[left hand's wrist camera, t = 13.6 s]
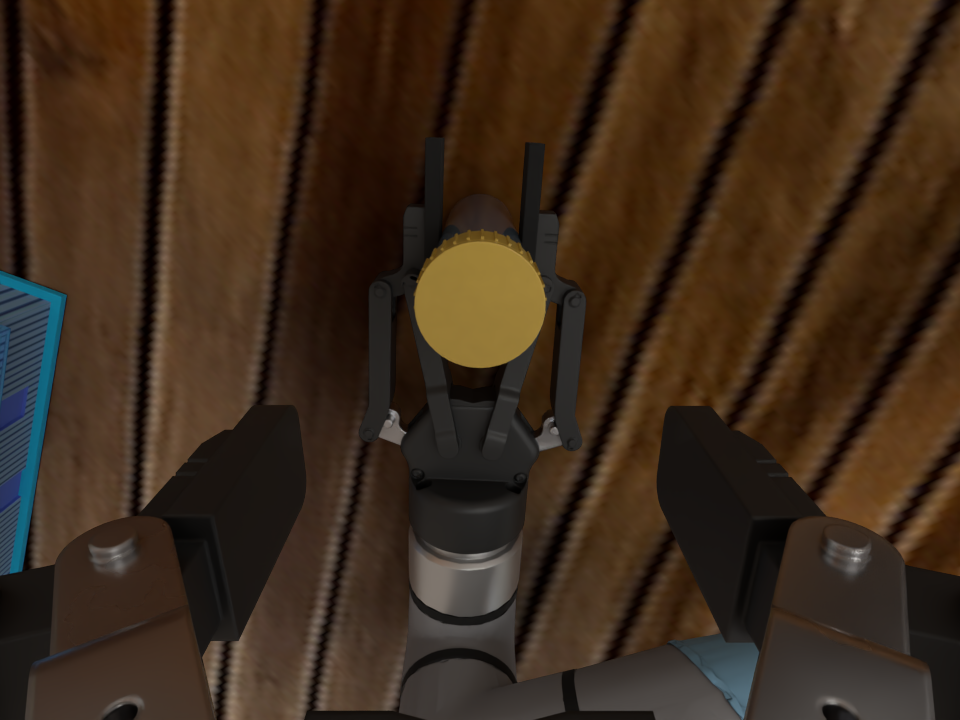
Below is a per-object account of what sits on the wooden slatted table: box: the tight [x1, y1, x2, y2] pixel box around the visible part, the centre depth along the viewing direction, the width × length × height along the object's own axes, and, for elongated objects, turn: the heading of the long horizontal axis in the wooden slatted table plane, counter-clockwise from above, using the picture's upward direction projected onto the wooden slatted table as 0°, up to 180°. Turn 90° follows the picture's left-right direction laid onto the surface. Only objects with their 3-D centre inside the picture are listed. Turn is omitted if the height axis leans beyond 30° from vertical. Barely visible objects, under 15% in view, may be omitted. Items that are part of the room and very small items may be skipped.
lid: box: [414, 229, 547, 368], centre depth 22 cm, size 5×5×2 cm
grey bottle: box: [437, 194, 523, 248], centre depth 29 cm, size 4×4×18 cm
